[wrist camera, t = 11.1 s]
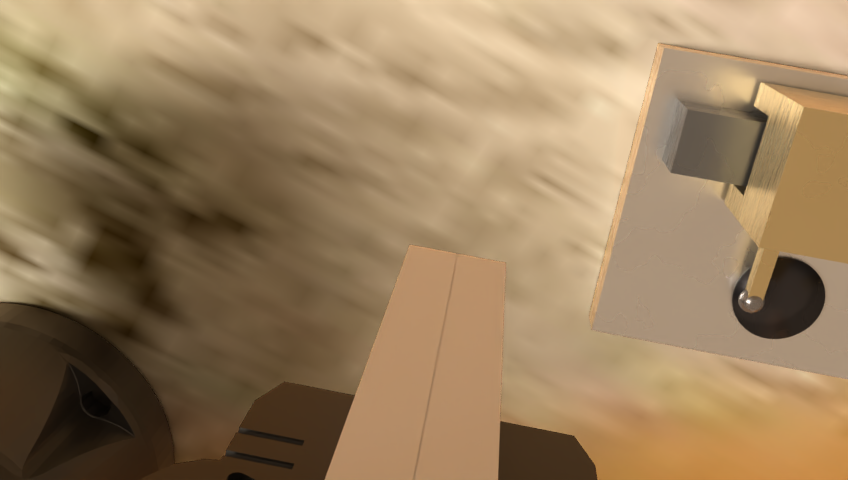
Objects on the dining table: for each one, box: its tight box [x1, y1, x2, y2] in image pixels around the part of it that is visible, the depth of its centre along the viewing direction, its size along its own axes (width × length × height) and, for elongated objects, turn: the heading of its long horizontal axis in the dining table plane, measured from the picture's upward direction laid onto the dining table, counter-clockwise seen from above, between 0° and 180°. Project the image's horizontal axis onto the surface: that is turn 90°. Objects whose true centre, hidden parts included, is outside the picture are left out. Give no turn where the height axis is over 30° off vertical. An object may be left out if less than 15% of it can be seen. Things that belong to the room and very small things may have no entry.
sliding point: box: [724, 82, 848, 313], centre depth 29 cm, size 9×4×5 cm, turn 171°
